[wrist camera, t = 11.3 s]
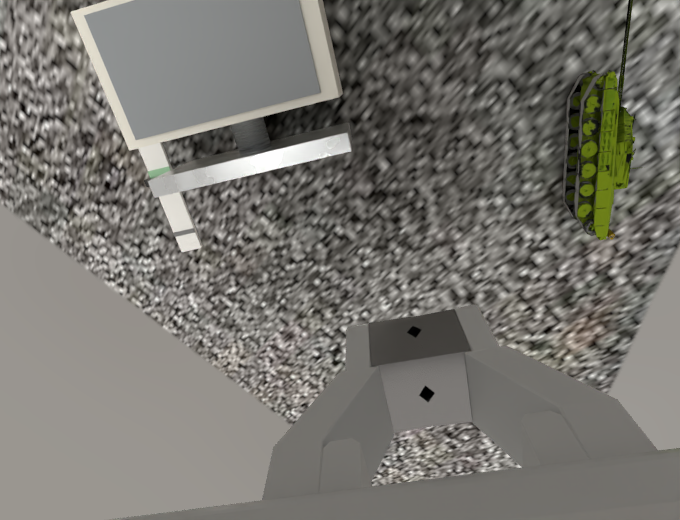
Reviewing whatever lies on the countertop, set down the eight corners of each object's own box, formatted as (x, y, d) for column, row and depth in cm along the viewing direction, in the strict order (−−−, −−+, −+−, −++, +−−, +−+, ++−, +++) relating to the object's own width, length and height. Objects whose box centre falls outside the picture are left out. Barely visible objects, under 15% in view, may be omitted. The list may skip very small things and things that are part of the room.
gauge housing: (97, 43, 32) (1, 29, 24) (318, -21, 30) (303, -64, 21) (183, 250, 39) (133, 299, 30) (368, 210, 37) (372, 249, 28)
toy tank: (551, 251, 32) (704, 243, 30) (562, -31, 25) (765, -76, 22) (535, 222, 39) (660, 213, 36) (540, -11, 32) (697, -45, 29)
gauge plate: (93, 46, 32) (16, 35, 25) (318, -19, 30) (306, -52, 23) (151, 185, 36) (100, 210, 29) (352, 136, 34) (351, 151, 27)
